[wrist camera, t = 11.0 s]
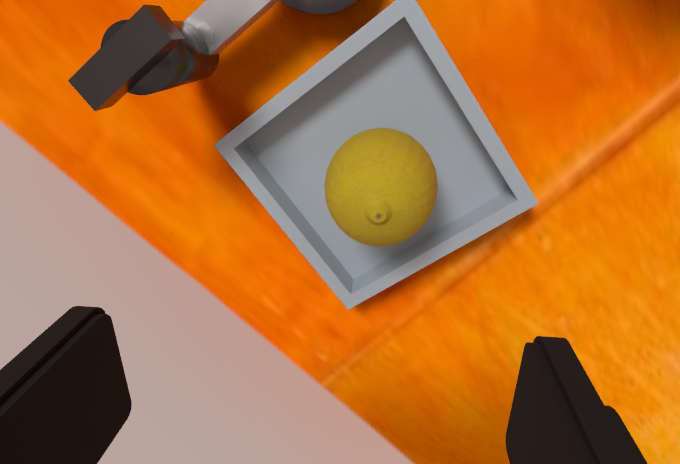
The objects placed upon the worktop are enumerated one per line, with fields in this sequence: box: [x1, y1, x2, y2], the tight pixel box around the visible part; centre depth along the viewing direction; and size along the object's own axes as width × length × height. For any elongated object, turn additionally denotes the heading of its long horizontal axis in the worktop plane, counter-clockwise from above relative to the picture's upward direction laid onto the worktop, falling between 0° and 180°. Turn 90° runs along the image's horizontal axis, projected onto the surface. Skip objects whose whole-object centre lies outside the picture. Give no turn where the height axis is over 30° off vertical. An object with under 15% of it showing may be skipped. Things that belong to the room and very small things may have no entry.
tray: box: [214, 0, 539, 310], centre depth 26 cm, size 13×13×2 cm
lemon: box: [324, 128, 438, 247], centre depth 23 cm, size 6×6×8 cm
